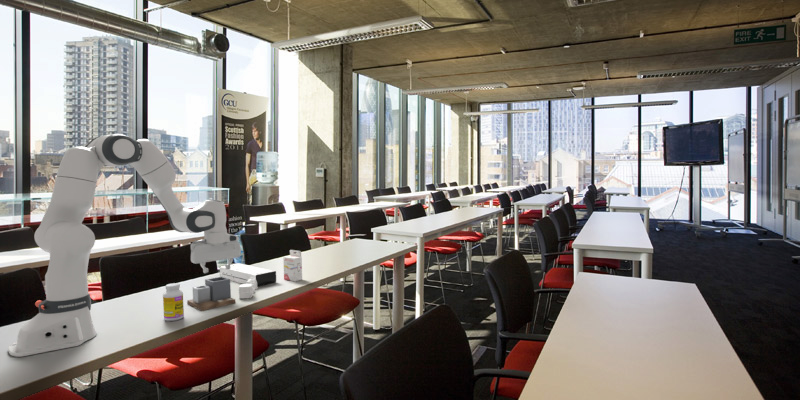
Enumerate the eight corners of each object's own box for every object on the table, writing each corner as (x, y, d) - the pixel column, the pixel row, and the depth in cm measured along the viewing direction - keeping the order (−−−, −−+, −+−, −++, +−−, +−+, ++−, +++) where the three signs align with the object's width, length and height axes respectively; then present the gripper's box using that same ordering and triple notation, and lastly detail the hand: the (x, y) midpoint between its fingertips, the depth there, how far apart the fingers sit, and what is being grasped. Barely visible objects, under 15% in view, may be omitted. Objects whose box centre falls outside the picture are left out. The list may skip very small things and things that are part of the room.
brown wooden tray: (201, 310, 177) (201, 305, 176) (187, 303, 186) (187, 299, 186) (235, 302, 187) (235, 298, 187) (220, 296, 196) (220, 292, 196)
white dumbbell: (251, 298, 193) (251, 286, 193) (238, 299, 193) (238, 286, 192) (258, 287, 213) (258, 275, 213) (247, 287, 212) (246, 276, 212)
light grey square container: (198, 304, 181) (197, 289, 180) (193, 301, 184) (192, 287, 184) (210, 301, 184) (209, 286, 184) (205, 299, 188) (204, 285, 187)
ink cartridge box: (283, 279, 227) (282, 250, 226) (290, 277, 231) (289, 249, 230) (295, 281, 222) (294, 252, 221) (302, 279, 226) (301, 250, 226)
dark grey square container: (213, 301, 184) (212, 282, 183) (205, 298, 189) (205, 279, 188) (230, 297, 189) (230, 279, 189) (222, 294, 194) (222, 276, 194)
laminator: (220, 278, 234) (219, 266, 234) (241, 274, 244) (241, 262, 243) (256, 288, 212) (255, 275, 212) (278, 282, 222) (278, 270, 221)
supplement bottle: (175, 322, 163) (174, 287, 163) (159, 321, 165) (158, 286, 164) (187, 316, 170) (186, 282, 169) (172, 315, 171) (171, 282, 170)
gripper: (193, 241, 178) (195, 276, 179) (242, 236, 193) (243, 267, 193) (187, 240, 182) (188, 274, 183) (235, 234, 197) (236, 266, 198)
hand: (217, 270), depth 188 cm, fingers open, 8 cm apart
